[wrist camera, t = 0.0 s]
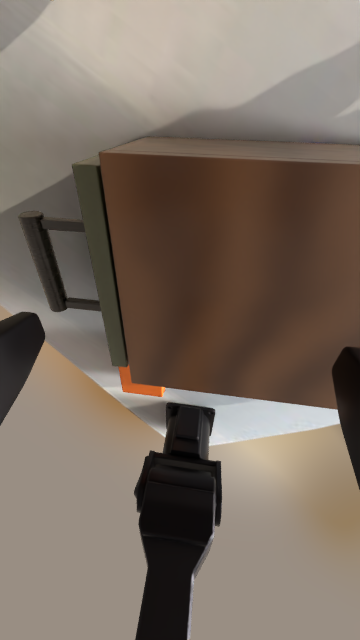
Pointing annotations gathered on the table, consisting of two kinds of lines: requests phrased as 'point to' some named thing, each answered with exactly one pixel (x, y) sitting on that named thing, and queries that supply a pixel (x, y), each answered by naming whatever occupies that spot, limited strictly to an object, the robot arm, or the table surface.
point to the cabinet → (236, 263)
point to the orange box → (138, 385)
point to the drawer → (100, 253)
